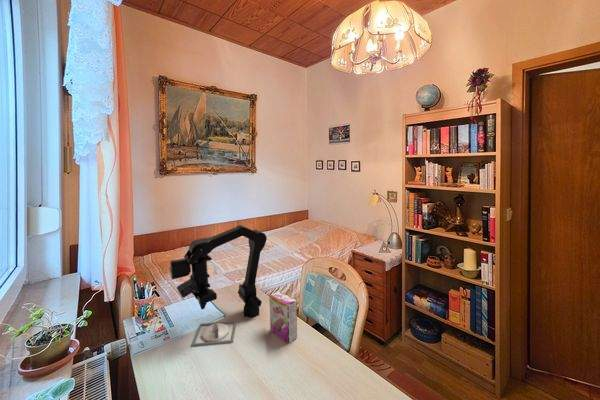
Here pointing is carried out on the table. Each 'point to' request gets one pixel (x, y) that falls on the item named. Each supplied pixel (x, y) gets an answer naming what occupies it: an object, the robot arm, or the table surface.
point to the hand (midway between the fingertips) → (202, 308)
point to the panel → (215, 341)
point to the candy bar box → (283, 316)
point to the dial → (215, 332)
